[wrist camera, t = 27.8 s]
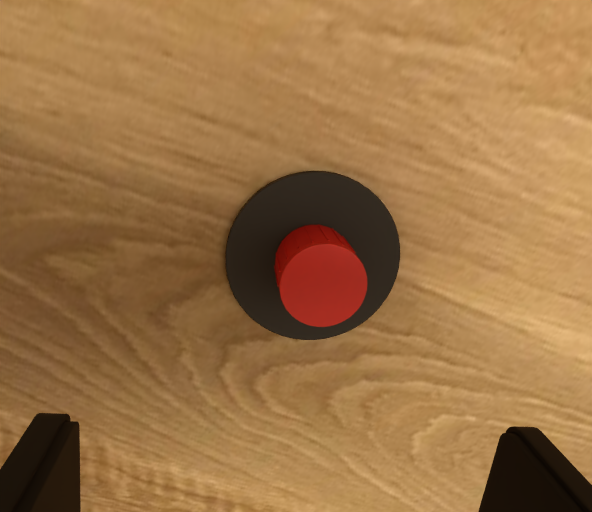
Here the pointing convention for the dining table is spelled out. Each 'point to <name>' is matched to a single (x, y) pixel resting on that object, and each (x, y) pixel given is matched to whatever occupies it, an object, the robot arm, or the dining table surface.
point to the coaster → (297, 213)
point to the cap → (319, 276)
